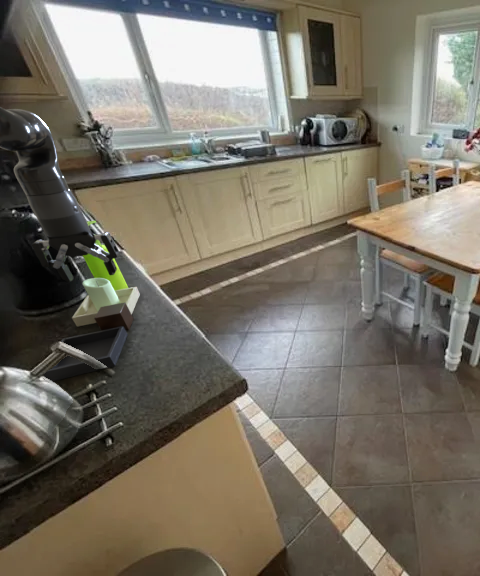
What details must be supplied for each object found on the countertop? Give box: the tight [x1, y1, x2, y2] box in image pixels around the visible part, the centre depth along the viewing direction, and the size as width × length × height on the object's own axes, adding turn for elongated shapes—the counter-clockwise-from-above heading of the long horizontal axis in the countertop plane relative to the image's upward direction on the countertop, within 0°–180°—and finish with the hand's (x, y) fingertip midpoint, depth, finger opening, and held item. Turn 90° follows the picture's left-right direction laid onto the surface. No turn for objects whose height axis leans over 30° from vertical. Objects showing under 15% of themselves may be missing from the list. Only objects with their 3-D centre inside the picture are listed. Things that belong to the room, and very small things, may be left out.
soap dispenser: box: [81, 220, 129, 291], centre depth 89 cm, size 6×7×20 cm
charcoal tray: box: [44, 326, 128, 382], centre depth 69 cm, size 11×11×3 cm
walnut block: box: [94, 303, 134, 332], centre depth 78 cm, size 5×5×5 cm
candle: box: [81, 277, 120, 311], centre depth 83 cm, size 5×5×8 cm
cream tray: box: [71, 286, 141, 327], centre depth 85 cm, size 11×11×3 cm
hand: (91, 277), depth 80 cm, fingers open, 8 cm apart
